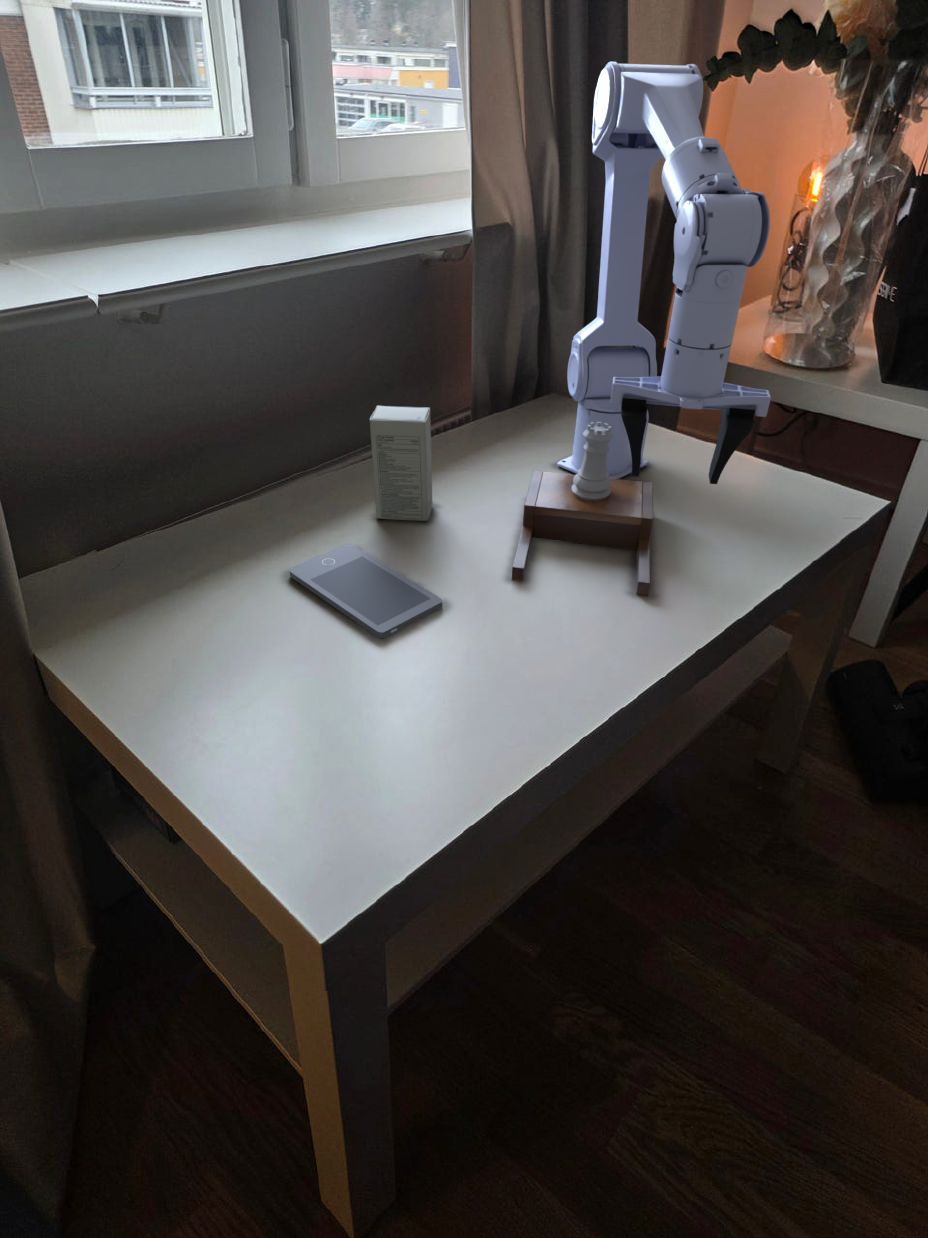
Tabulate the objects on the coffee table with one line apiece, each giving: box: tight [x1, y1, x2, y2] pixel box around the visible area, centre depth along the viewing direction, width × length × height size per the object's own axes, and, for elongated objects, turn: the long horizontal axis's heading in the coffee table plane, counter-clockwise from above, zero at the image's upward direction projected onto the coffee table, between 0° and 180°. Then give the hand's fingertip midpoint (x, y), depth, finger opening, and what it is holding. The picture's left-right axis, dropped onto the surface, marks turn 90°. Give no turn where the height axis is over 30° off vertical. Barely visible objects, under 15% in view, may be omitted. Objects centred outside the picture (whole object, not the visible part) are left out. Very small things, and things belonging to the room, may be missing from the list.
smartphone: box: [289, 543, 443, 639], centre depth 84 cm, size 15×8×1 cm, turn 44°
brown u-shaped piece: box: [511, 470, 654, 596], centre depth 92 cm, size 18×14×4 cm
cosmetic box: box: [369, 405, 433, 522], centre depth 95 cm, size 6×4×12 cm
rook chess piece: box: [572, 422, 613, 501], centre depth 92 cm, size 4×4×8 cm
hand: (673, 475), depth 84 cm, fingers open, 7 cm apart
